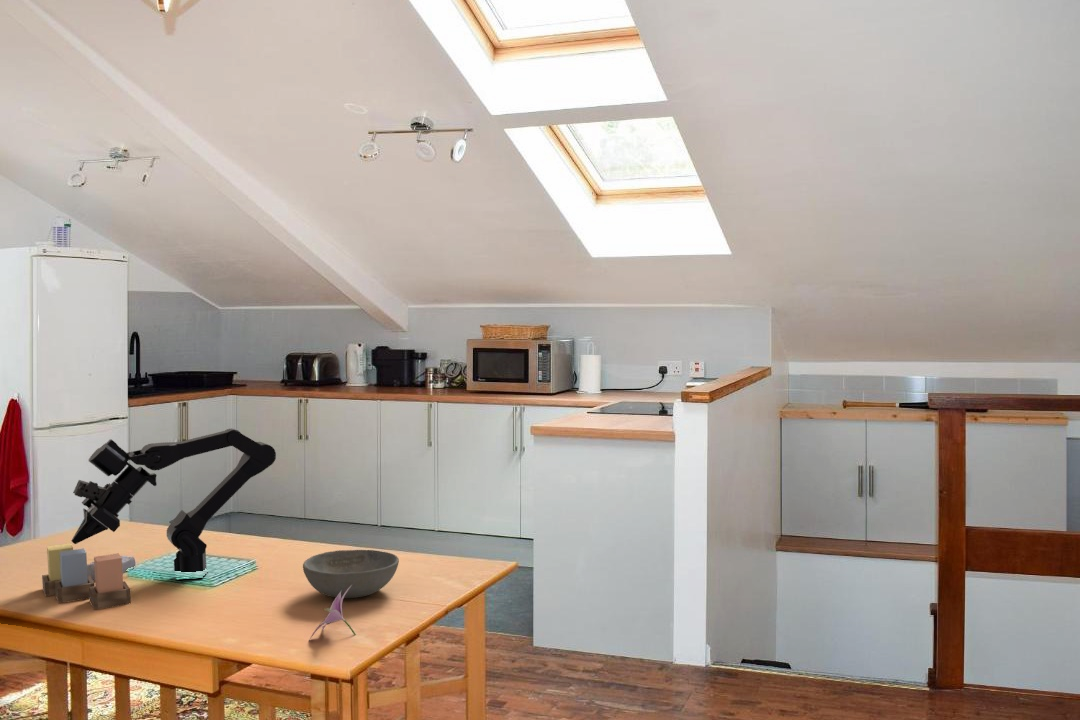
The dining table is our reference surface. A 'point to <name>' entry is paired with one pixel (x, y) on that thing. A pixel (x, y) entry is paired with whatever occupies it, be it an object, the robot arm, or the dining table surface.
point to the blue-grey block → (73, 567)
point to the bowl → (350, 572)
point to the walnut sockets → (86, 593)
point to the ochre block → (55, 560)
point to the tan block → (108, 573)
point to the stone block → (126, 563)
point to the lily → (335, 613)
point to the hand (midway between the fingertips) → (73, 542)
